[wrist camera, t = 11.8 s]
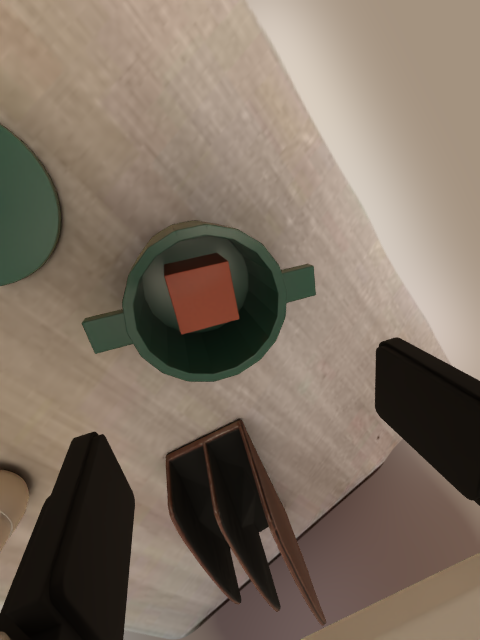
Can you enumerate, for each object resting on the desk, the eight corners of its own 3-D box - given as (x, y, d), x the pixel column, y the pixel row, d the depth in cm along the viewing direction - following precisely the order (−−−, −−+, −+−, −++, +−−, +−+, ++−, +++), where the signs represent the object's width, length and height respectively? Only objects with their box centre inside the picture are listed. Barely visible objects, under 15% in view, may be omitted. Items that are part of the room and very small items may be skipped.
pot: (84, 242, 24) (46, 256, 16) (270, 204, 27) (314, 201, 19) (128, 357, 28) (116, 411, 21) (284, 314, 31) (324, 348, 23)
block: (163, 264, 26) (164, 275, 21) (217, 252, 26) (228, 260, 22) (178, 314, 28) (181, 334, 23) (227, 302, 28) (239, 319, 24)
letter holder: (240, 416, 35) (286, 537, 22) (285, 509, 43) (337, 636, 30) (164, 453, 34) (165, 602, 21) (224, 541, 42) (251, 686, 29)
